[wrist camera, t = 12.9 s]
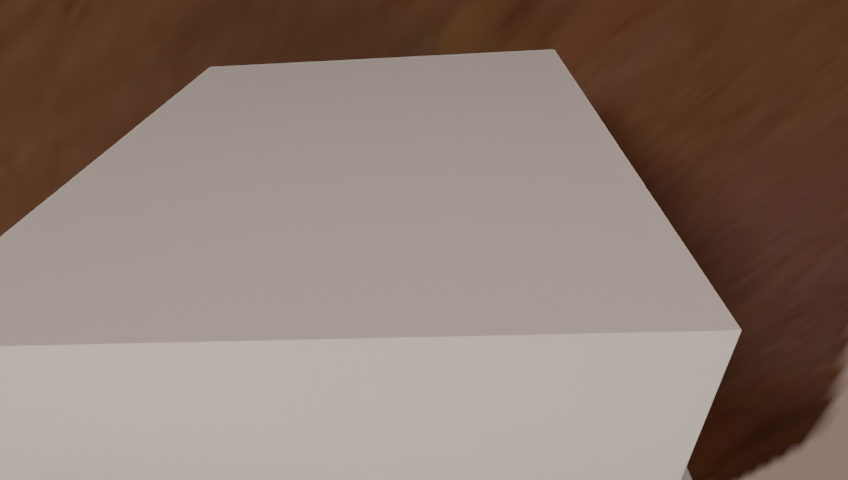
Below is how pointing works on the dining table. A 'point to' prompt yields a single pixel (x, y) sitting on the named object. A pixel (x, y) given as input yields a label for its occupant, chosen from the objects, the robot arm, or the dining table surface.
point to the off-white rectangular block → (358, 288)
